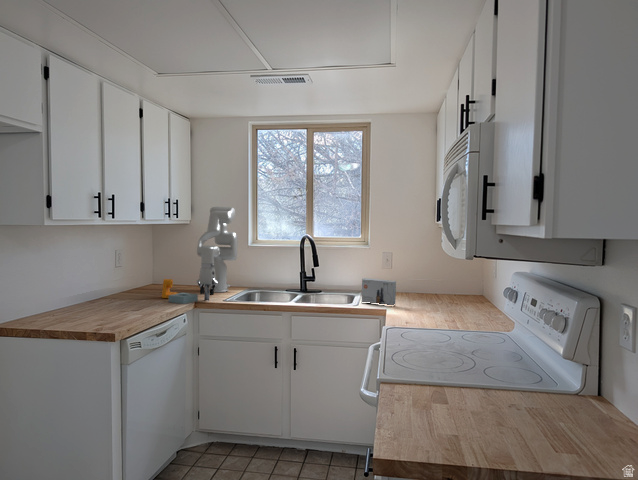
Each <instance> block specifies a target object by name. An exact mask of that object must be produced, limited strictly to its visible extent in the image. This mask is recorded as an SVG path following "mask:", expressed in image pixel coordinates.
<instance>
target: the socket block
mask: <svg viewBox="0 0 638 480" xmlns="http://www.w3.org/2000/svg"><path fill="white" fill-rule="evenodd" d="M198 298H199V297H198V294H197V293H191V292H190V293H189V292H180V293H179V292H178V293H177V294H173V295H169V298H168V303H173V304H181V305H182V304H183V305H187V304H190V303H194V302H198V301H199V300H198Z"/></svg>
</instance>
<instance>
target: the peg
mask: <svg viewBox="0 0 638 480" xmlns="http://www.w3.org/2000/svg"><path fill="white" fill-rule="evenodd" d="M203 297H204V299H203V300H204V301H205V300H208V301H210V286H209V285H207V284H205V285H204V296H203Z"/></svg>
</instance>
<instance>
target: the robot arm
mask: <svg viewBox="0 0 638 480" xmlns="http://www.w3.org/2000/svg"><path fill="white" fill-rule="evenodd" d="M235 216H236V209H235V208H234V207H231V206H213V207H211V208H210V209H209V218H208V223H207V228H206V229H207V231H205V232H204V233H203V234H202V235H201V236H200V237H199V239H198V242H197V247H196V254H197V256H198V257H200V259H201V262H200V270H199V273H198V274H199V277H198V279H197V280H196V283H197V284H198V287H199V294H200V295H203V294H204V291H205V284H207V285H209V286H210V287H209V296H214V295H215V293H226V291H227V292H229V289H228V288H230V287H231V284H228V283H227V274H228V273H227V272H228V271H227V270H228V267H227V264H226V263H225V261H236V260H237V258H238V234H237V233H236V232H235V231H228V225H229V224H231V223H232V222H233V220H234V219H235ZM212 238H214V243H215V244H216V245H206V244H205V242H207V241H209V240H210V239H212ZM204 244H205V245H204ZM217 245H219V246H217ZM220 245H221V246H220Z"/></svg>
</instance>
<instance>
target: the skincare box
mask: <svg viewBox="0 0 638 480" xmlns="http://www.w3.org/2000/svg"><path fill="white" fill-rule="evenodd" d="M396 291H397V280H388V279H387V280H386V279H378V278H367V277H366V278H365V277H364V278H362V279H361V303H362V302H370V303H379V304H387V305H394V304H395V305H396V299H397V298H396V296H397V292H396Z"/></svg>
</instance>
